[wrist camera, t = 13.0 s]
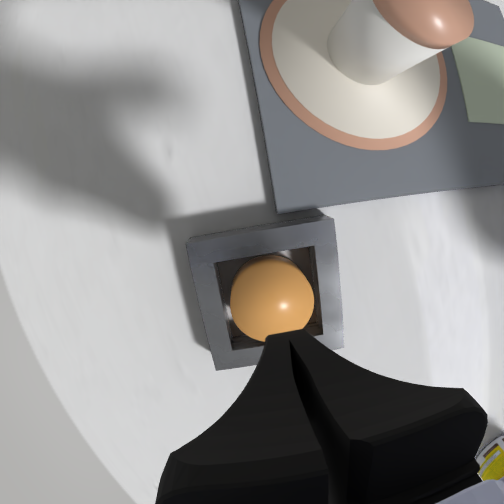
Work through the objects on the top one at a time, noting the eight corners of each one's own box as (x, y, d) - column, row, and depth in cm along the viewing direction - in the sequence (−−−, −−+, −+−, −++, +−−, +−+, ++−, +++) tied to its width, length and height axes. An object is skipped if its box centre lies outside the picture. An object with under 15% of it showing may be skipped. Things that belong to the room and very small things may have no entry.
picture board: (494, 8, 13) (499, 5, 12) (533, 180, 16) (540, 181, 15) (233, -23, 13) (233, -30, 12) (276, 212, 16) (278, 214, 15)
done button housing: (325, 214, 16) (333, 218, 15) (336, 334, 18) (344, 347, 16) (190, 237, 16) (185, 243, 15) (217, 356, 18) (215, 370, 16)
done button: (301, 248, 16) (309, 257, 15) (310, 318, 17) (317, 333, 16) (224, 262, 16) (222, 272, 15) (238, 331, 17) (238, 347, 16)
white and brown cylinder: (386, 22, 13) (451, -35, 6) (404, 85, 14) (486, 49, 7) (319, 19, 13) (363, -56, 6) (336, 86, 14) (399, 34, 7)
